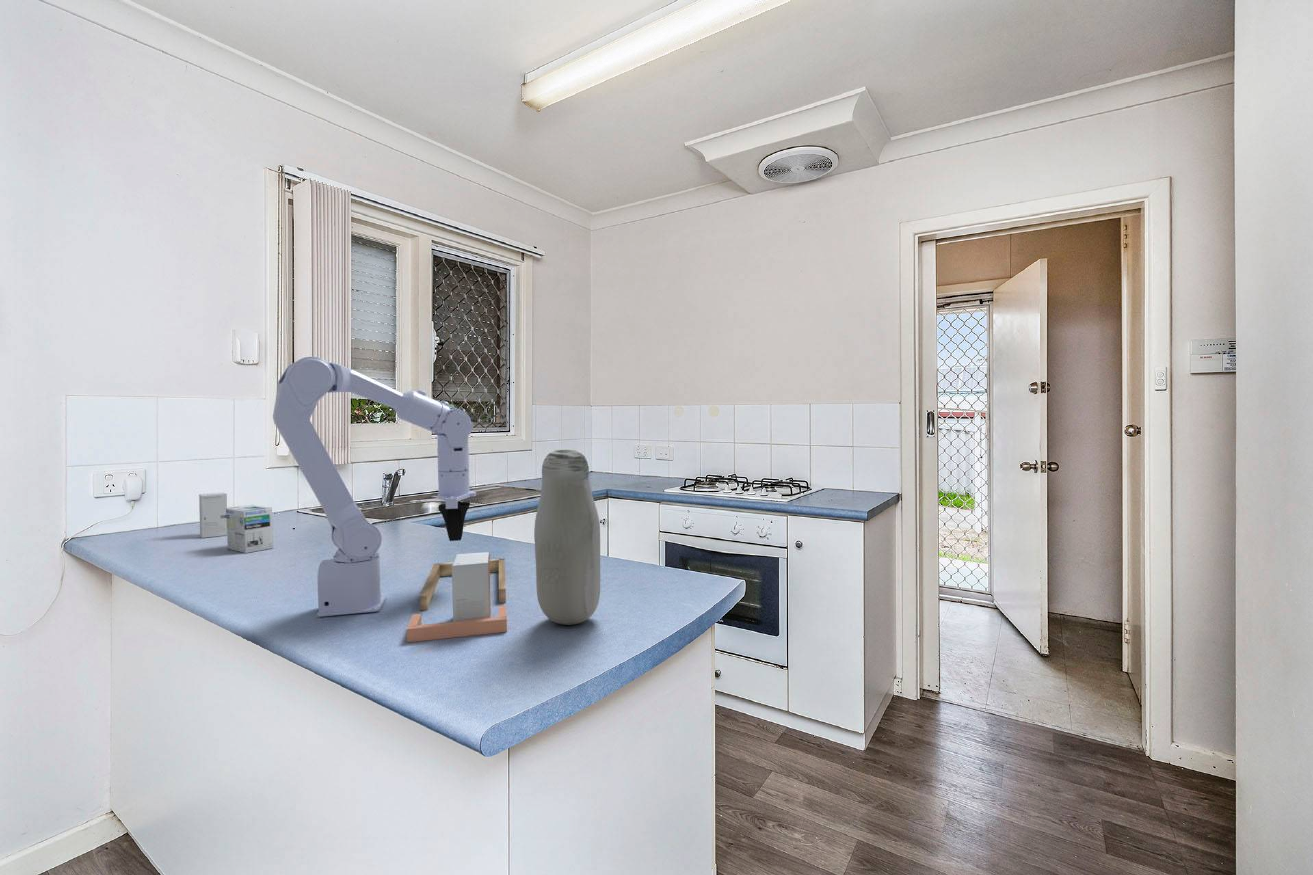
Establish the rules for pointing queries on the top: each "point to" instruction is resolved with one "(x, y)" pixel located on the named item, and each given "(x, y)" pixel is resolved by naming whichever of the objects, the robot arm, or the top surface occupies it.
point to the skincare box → (213, 514)
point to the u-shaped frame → (446, 570)
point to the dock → (455, 627)
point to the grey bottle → (567, 540)
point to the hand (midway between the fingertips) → (455, 540)
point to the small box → (471, 586)
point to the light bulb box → (249, 528)
